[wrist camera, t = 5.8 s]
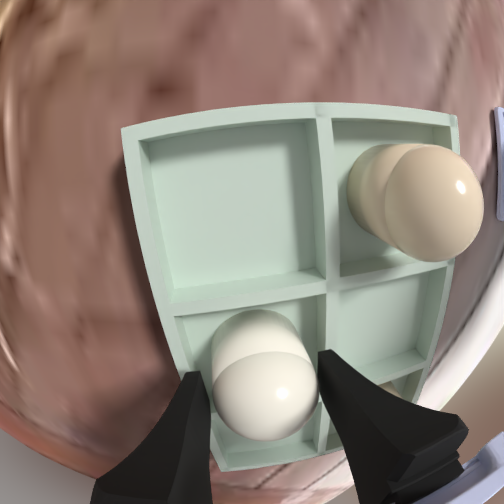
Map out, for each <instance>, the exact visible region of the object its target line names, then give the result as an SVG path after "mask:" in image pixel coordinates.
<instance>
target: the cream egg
mask: <svg viewBox="0 0 504 504" xmlns="http://www.w3.org/2000/svg"><path fill="white" fill-rule="evenodd" d="M211 361H212V396H213V402H214V406H215V409H216V411H217V413H218V415H219V417H220V418H221V420H222V421H223V422H224V424H225V425H226V426H227V427H228V428H230V429H231V430H232V431H233V432H235V433H236V434H238V435H240V436H242V437H244V438H247V439H250V440H254V441H276V440H280V439H284V438H286V437H289V436H291V435H293V434H294V433H296V432H298V431H299V430H300V429H301V428H302V427H304V426H305V425H306V424H307V423H308V421H309V420H310V418H311V417H312V416H313V414H314V412H315V410H316V407H317V404H318V400H319V392H320V388H319V380H318V376H317V374H316V371H315V369H314V367H313V365H312V362H311V360H310V358H309V356H308V354H307V352H306V350H305V347H304V345H303V343H302V341H301V339H300V337H299V335H298V332H297V330H296V328H295V326H294V325H293V323H292V322H291V321H290V320H289V319H288V318H286V317H285V316H283V315H282V314H280V313H277V312H275V311H271V310H264V309H255V310H248V311H244V312H241V313H238V314H236V315H234V316H232V317H230V318H228V319H227V320H226V321H224V322H223V323H222V324H221V325H220V326H219V328H218V329H217V330H216V332H215V334H214V336H213V339H212V344H211Z"/></svg>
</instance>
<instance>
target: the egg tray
mask: <svg viewBox="0 0 504 504" xmlns="http://www.w3.org/2000/svg"><path fill="white" fill-rule="evenodd" d="M121 134H122V143H123V151H124V158H125V165H126V172H127V178H128V184H129V190H130V196H131V202H132V207H133V212H134V217H135V222H136V227H137V232H138V236H139V241H140V245H141V250H142V254H143V258H144V262H145V266H146V270H147V274H148V278H149V282H150V285H151V289H152V293H153V296H154V300H155V303H156V307H157V310H158V313H159V317H160V320H161V323H162V326H163V330H164V333H165V336H166V339H167V342H168V345H169V348H170V351H171V354H172V357H173V359H174V362H175V365H176V368H177V371H178V373H179V376H180V379H181V381H182V379H183V377H184V374H185V373H186V372H190V371H200V372H201V375H202V378H203V381H204V385H205V388H206V391H207V394H208V397H209V400H210V410H211V434H210V450H211V452H212V454H213V456H214V458H215V460H216V462H217V464H218V466H219V468H220V470H221V472H225V471H237V470H246V469H254V468H261V467H268V466H274V465H280V464H285V463H290V462H295V461H300V460H305V459H309V458H313V457H317V456H321V455H325V454H329V453H332V452H336V451H339V450H343V449H344V447H343V445H342V442H341V440H340V437H339V435H338V433H337V431H336V429H335V427H334V425H333V423H332V421H331V418H330V416H329V414H328V412H327V410H326V408H325V406H324V404H323V401H322V398H321V395H320V392H319V400H318V404H317V407H316V410H315V412H314V414H313V416H312V417H311V418H310V420H309V421H308V423H307V424H306V425H305V426H304V427H302V428H301V429H300V430H299V431H298V432H296V433H294V434H293V435H291V436H289V437H286V438H284V439H280V440H276V441H254V440H250V439H247V438H244V437H242V436H240V435H238V434H236V433H235V432H233V431H232V430H231V429H230V428H228V427H227V426H226V425H225V424H224V422H223V421H222V420H221V418H220V417H219V415H218V413H217V411H216V409H215V406H214V402H213V396H212V361H211V344H212V339H213V336H214V334H215V332H216V330H217V329H218V328H219V326H220V325H221V324H222V323H223V322H224V321H226V320H227V319H228V318H230V317H232V316H234V315H236V314H238V313H241V312H244V311H248V310H255V309H264V310H271V311H275V312H277V313H280V314H282V315H283V316H285V317H286V318H288V319H289V320H290V321H291V322H292V323H293V325H294V326H295V328H296V330H297V332H298V335H299V337H300V339H301V341H302V343H303V345H304V347H305V350H306V352H307V354H308V356H309V358H310V360H311V362H312V365H313V367H314V369H315V371H316V374H317V364H318V352H319V351H324V350H328V349H332V350H333V351H334V352H336V353H337V354H338V355H339V356H340V357H341V358H342V359H343V360H345V361H346V362H347V363H348V364H349V365H351V366H352V367H353V368H354V369H356V370H357V371H358V372H359V373H361V374H362V375H363V376H365V377H366V378H367V379H369V380H370V381H372V382H373V383H375V384H376V385H379V384H382V383H385V382H388V381H391V382H392V383H393V385H394V386H395V388H396V389H397V391H398V392H399V393H400V395H401V396H402V398H403V399H404V400H406V401H409V402H411V403H414V404H416V403H417V401H418V398H419V396H420V393H421V391H422V388H423V385H424V383H425V380H426V377H427V374H428V372H429V369H430V366H431V363H432V359H433V356H434V353H435V350H436V346H437V343H438V339H439V336H440V332H441V328H442V324H443V320H444V316H445V312H446V308H447V303H448V298H449V293H450V288H451V282H452V277H453V270H454V264H455V257H454V258H452V259H449V260H446V261H441V262H424V261H420V260H416V259H414V258H412V257H410V256H407V255H406V254H404V253H402V252H401V251H399V250H397V249H396V248H394V247H392V246H391V245H389V244H387V243H385V242H384V241H382V240H380V239H378V238H377V237H375V236H373V235H371V234H370V233H368V232H366V231H365V230H363V229H362V228H361V227H360V226H359V225H358V224H357V223H356V221H355V220H354V218H353V216H352V214H351V212H350V209H349V206H348V202H347V180H348V176H349V173H350V170H351V168H352V166H353V164H354V162H355V161H356V159H357V158H358V157H359V156H360V155H361V154H362V153H363V152H364V151H365V150H367V149H368V148H370V147H372V146H375V145H379V144H433V145H439V146H442V147H445V148H448V149H450V150H452V151H453V152H455V153H457V154H458V155H459V156H460V147H459V133H458V123H457V116H456V115H451V114H445V113H440V112H434V111H427V110H421V109H413V108H405V107H397V106H386V105H374V104H358V103H281V104H265V105H252V106H242V107H232V108H224V109H216V110H209V111H202V112H196V113H190V114H184V115H178V116H173V117H168V118H163V119H158V120H154V121H149V122H145V123H140V124H136V125H132V126H128V127H124V128H121Z"/></svg>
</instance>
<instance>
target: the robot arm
mask: <svg viewBox="0 0 504 504" xmlns="http://www.w3.org/2000/svg"><path fill="white" fill-rule="evenodd" d="M494 115H495V124H496V135H497V151H498V198H497V219H498V220H500V221H504V108H501V107H495V109H494ZM317 376H318V380H319V388H320V395H321V398H322V401H323V404H324V406H325V408H326V410H327V412H328V414H329V416H330V418H331V421H332V423H333V425H334V427H335V429H336V431H337V433H338V435H339V437H340V440H341V442H342V445H343V447H344V450H345V453H346V456H347V459H348V463H349V466H350V469H351V472H352V476H353V479H354V483H355V487H356V491H357V495H358V499H359V503H360V504H483V503H484V502H485V501H487V500H488V499H489V498H491V497H492V496H493V495H494V494H495V493H496V492H497V491H499V490H500V489H501V488H502V487H503V486H504V432H500V433H499V434H498V435H497V436H496V437H494V438H493V439H492V440H490V441H489V442H488V443H487V444H486V445H485V446H484V447H482V448H481V450H480V451H479V452H478V453H477V455H476V456H475V457H473V458H472V459H470V460H469V461H468V462H466V463H465V464H463V465H462V466H461V464H460V463H459V461H458V458H459V454H458V452H457V451H456V450H457V449H458V448H459V446H460V445H461V443H462V442H463V441H464V439H465V438H466V436H467V434H468V430H469V429H468V428H467V427H466V425H465V424H464V422H463V421H462V420H461V419H460V418H459V416H458V415H456V414H450V413H445V412H440V411H436V410H432V409H429V408H425V407H422V406H419V405H416V404H414V403H411V402H409V401H406V400H404V399H402V398H399V397H397V396H395V395H393V394H391V393H390V392H388V391H386V390H384V389H383V388H381V387H379V386H378V385H376V384H375V383H373V382H372V381H370V380H369V379H367V378H366V377H365V376H363V375H362V374H361V373H359V372H358V371H357V370H356V369H354V368H353V367H352V366H351V365H349V364H348V363H347V362H346V361H345V360H343V359H342V358H341V357H340V356H339V355H338V354H337V353H336V352H334V351H333V350H332V349H328V350H324V351H319V352H318V364H317ZM210 434H211V410H210V400H209V397H208V394H207V391H206V388H205V385H204V381H203V378H202V375H201V372H200V371H190V372H186V373H185V374H184V377H183V379H182V381H181V383H180V385H179V387H178V389H177V391H176V393H175V395H174V397H173V398H172V400H171V402H170V404H169V405H168V407H167V409H166V410H165V412H164V414H163V415H162V417H161V418H160V420H159V421H158V423H157V424H156V425H155V427H154V428H153V429H152V431H151V432H150V433H149V435H148V436H147V437H146V438H145V439H144V440H143V442H142V443H141V444H140V445H139V446H138V447H137V448H136V449H135V450H134V451H133V452H132V453H131V454H130V455H129V456H128V457H126V458H125V459H124V460H123V461H122V462H121V463H119V464H118V465H117V466H116V467H114V468H113V469H112V470H110V471H109V472H107V473H106V474H104V475H103V476H101V477H100V478H98V479H96V482H95V485H94V488H93V492H92V496H91V501H90V504H213V502H212V493H211V484H210V472H209V454H210Z"/></svg>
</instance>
